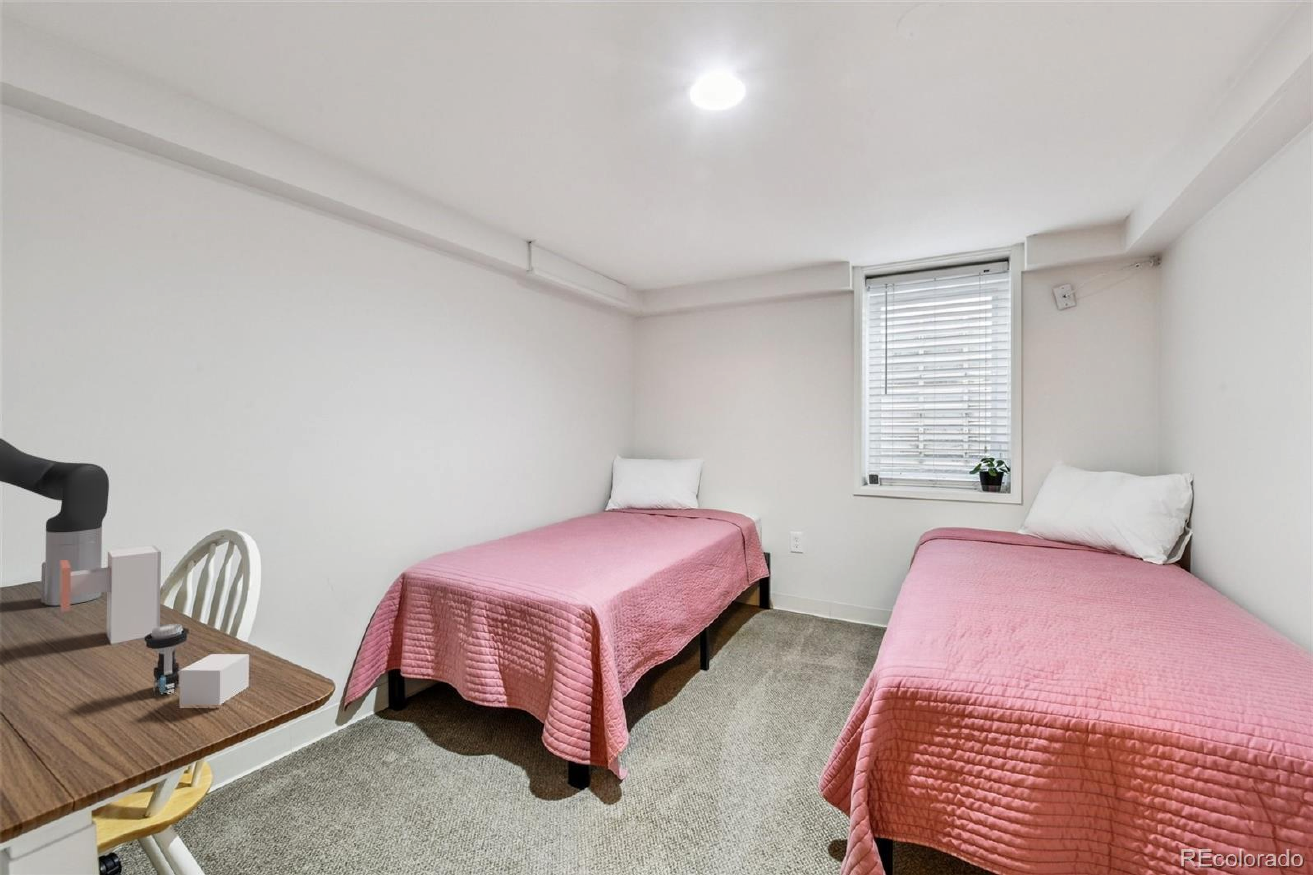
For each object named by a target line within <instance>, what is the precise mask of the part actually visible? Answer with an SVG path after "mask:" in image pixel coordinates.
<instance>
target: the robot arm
mask: <svg viewBox="0 0 1313 875" xmlns="http://www.w3.org/2000/svg"><path fill="white" fill-rule="evenodd" d="M0 482H1V483H5V484H8V485H12V486H15V487H18V488H20V489H23V490H26V491H28V492H32V493H34V494H36V495H39V496H41V497H45V498H47V499H51V500H55V501H61V506H60V511H59V512H58V513H57V514H56V515H55V516H52V517H50V518H48V519H46V523H45V561H44V562H42V563H41V580H40V581H41V582H40V584H41V585H40V586H41V587H40V591H41V593H40V597H41V598H40V602H41V604H44V605H46V606H60V602H59V591H60V561H61V560H68V562H69V565H70V567H71V572H74V571H82V570H90V569H98V568H102V554H103V553H102V548H103V547H102V546H103V545H102V543H103V540H102V538H103V535H102V533H103V522H104V521H103V520H104V519H105V517H106V515H107V512H108V506H109V505H108V503H109V492H110V480H109V475H108V474H107V471H106V470H105V469H104V468H103V467H101V466H100V465H97V464H94V463H89V462H88V463H84V462H63V461H56V460H51V459H47V458H43V457H40V456H36V455H32V454H29V453H26V452H24V451H22V450H19V449H18V448H17V447H15V446H14V445H12V444H11V443H10V442H8V441H6V440H5V439H4V438H1V437H0ZM101 595H102V592H100V593H93V594H87V595H80V596H73V597H70V605H73V604H79V603H80V604H81V603H84V602H90V601H93V600H96V599H98V598H101Z"/></svg>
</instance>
